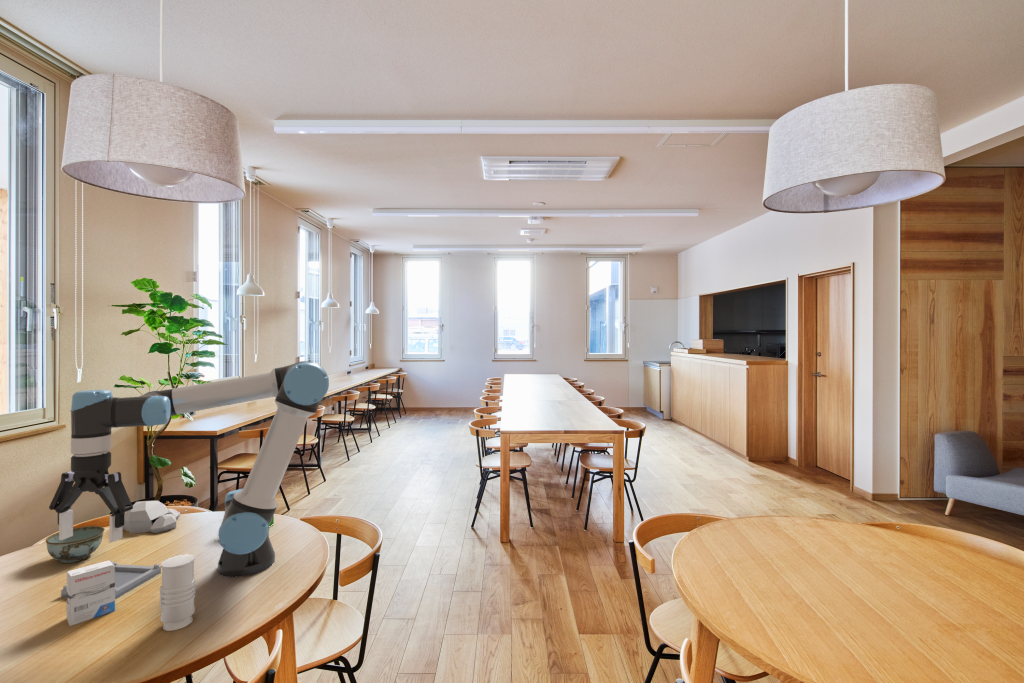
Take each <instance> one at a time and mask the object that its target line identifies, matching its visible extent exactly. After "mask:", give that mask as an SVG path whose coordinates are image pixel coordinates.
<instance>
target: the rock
mask: <svg viewBox="0 0 1024 683" xmlns="http://www.w3.org/2000/svg"><path fill="white" fill-rule="evenodd" d="M132 506H133V509H131V510H129V511H126V512H125V514H124V526H122V530H124V531H127V532H128V533H131V534H136V533H137V534H138V533H147V532H151V533H153V534H158V533H162V532H167V531H170V530H174V529H176V528H177V521H178V520H179V517H180V515H181V512H179V511H177V510H176V509H175V508H171V507H170V508H167V506H166V505H165V504H164V503H163V502H160V500H143V501H135V503H134V504H132ZM153 520H155V521H154V522H153Z"/></svg>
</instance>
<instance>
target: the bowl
mask: <svg viewBox="0 0 1024 683" xmlns="http://www.w3.org/2000/svg"><path fill="white" fill-rule="evenodd" d="M104 532H105V528H104V527H103V526H101V525H100V526H99V525H90V526H89V525H87V526H81V527H75V528H74V527H73V536H71V537H69V538H66V539H64V540H59V532H57V533H54V534H51V535H49V536H48V537H47V538H46V539H45V542H46V550H47V553H48V554H49V556H50V557H51V558H53V559H54V560H57V561H60V562H61V563H63V564H70V563H71V562H72V563H75V562H76V561H77V562H80V561H83V560H86V559H87V558H88V557H89V555H91V554H93V553H95V551H96V550H97V549H98V548H99V547H100V545H101V543H102V540H103V536H104ZM77 562H76V563H77Z"/></svg>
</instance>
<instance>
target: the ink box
mask: <svg viewBox="0 0 1024 683" xmlns="http://www.w3.org/2000/svg"><path fill="white" fill-rule="evenodd" d="M112 562H113V561H112V560H111V559H109V560H105V561H101V562H97V563H94V564H89V565H85V566H83V567H79V568H76V569H71V570H68V571H67V572H66V585H67V597H66V620H67V623H68V626H70V627H72V626H74V625H77V624H81V623H83V622H86V621H89V620H92V619H95V618H98V617H101V616H104V615H107V614H110V613H113V612H115V611H116V599H115V565H114V564H113V563H112Z"/></svg>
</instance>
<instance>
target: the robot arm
mask: <svg viewBox="0 0 1024 683" xmlns="http://www.w3.org/2000/svg"><path fill="white" fill-rule="evenodd" d="M329 381H330V380H329V375H328V374H327V372H326V370H325V369H324V368H323V367H322V366H321V365H319V364H317V363H315V362H312V361H308V360H307V361H306V360H304V361H298V362H295V363H292V364H289V365H284V366H281V367H276V368H272V370H271V371H270V372H266V373H259V374H253V375H247V376H241V377H235V378H234V377H233V378H228V379H224V380H223V379H222V380H218V381H217V380H216V381H211V382H207V383H206V382H205V383H199V384H193V385H187V386H182V387H176V388H171V389H170V388H169V389H163V390H153V391H148V392H146V393H143V394H142V395H139V396H127V397H114V396H113V394H112V391H111V390H109V389H88V390H79V391H76V392H74V393H73V394H72V397H71V409H70V424H71V426H70V428H71V429H70V430H71V435H70V454H72V456H71V457H70V471H67V472H62V473H61V476H60V482H59V485H58V487H57V488H56V491H55V493H54V496H53V498H52V500H51V501H50V504H49V507H48V509H49V510H50V511H52V510H54V511H55V512H56V513H57V526H58V533H59V540H64V539H66V538H69V537H71V536H73V528H74V509H72V507H73V505H74V504H75V502H77V500H78V499H79V497H80V496H81V495H82V494H83V492H84V493H85V492H89V493H95V495H98V496H99V497H100V498H101V500H102V501H103V503H104V504H105V505H106V506H107V508H108V509H109V511H110V512H111V513H112V514H111V515H109V534H108V535H109V538H108V540H109V542H108V543H110V544H113V543H114V542H117V541H120V540H121V539H123V528H122V526H124V514H125V513H126V512H127V511H129V510H131V509H133V504H132V502H131V499H130V497H129V494H128V492H127V490H126V487H125V485H124V483H123V481H122V474H121V472H120V471H116V472H113V473H110V472H109V468H110V467H111V466H112V452H110V450H111V449H112V429H113V428H126V427H127V428H128V427H154V426H160V425H163V426H164V425H166V424H168V422H169V421H170V417H172V416H176V415H182V414H187V413H192V412H193V413H194V412H198V411H204V410H208V409H209V410H210V409H215V408H220V407H226V406H231V405H236V404H241V403H242V404H243V403H248V402H254V401H258V400H263V399H269V398H275V399H274V402H275V405H276V406H277V407H276V408H277V410H276V411H275V414H274V416H273V418H272V421H271V423H270V426H269V428H268V430H267V432H266V434H265V437H264V439H263V442H262V444H261V447H260V449H259V451H258V453H257V456H256V458H255V460H254V463H253V465H252V468H251V470H250V472H249V474H248V477H247V478H246V481H245V483H244V486H243V488H239V489H236V490H235V489H234V490H231V491H229V492H227V493H226V494H225V499H224V500H223V501H224V502H223V503H224V514H223V518H222V521H221V525H220V526H219V529H218V533H217V534H218V541H219V544H220V546H221V547H222V551H221V554H220V557H219V560H218V563H217V573H218V574H219V575H220V576H222V577H225V578H242V577H243V578H244V577H248V576H253V575H256V574H259V573H261V572H264V571H266V570H268V569H270V568H271V567H272V566H273V565H274V564H275V561H276V552H275V551H274V548H273V544H272V542H271V539H270V535H269V533H270V527H269V525H270V523H271V520H272V518H273V515H275V512H276V511H277V508H278V502H277V500H276V495H277V493H278V490H279V488H280V486H281V483H282V481H283V479H284V477H285V474H286V472H287V469H288V467H289V464H290V461H291V459H292V457H293V454H294V452H295V451H296V447H297V445H298V443H299V440H300V439H301V436H302V433H303V430H304V428H305V426H306V423H307V421H308V418H309V417H313V416H314V415H316V414H317V411H318V409H319V406H320V404H321V401H322V400H323V399H324V398H325V396H326V395H327V393H328V391H329V387H330V382H329ZM273 563H274V564H273ZM272 564H273V565H272ZM270 566H271V567H270Z"/></svg>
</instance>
